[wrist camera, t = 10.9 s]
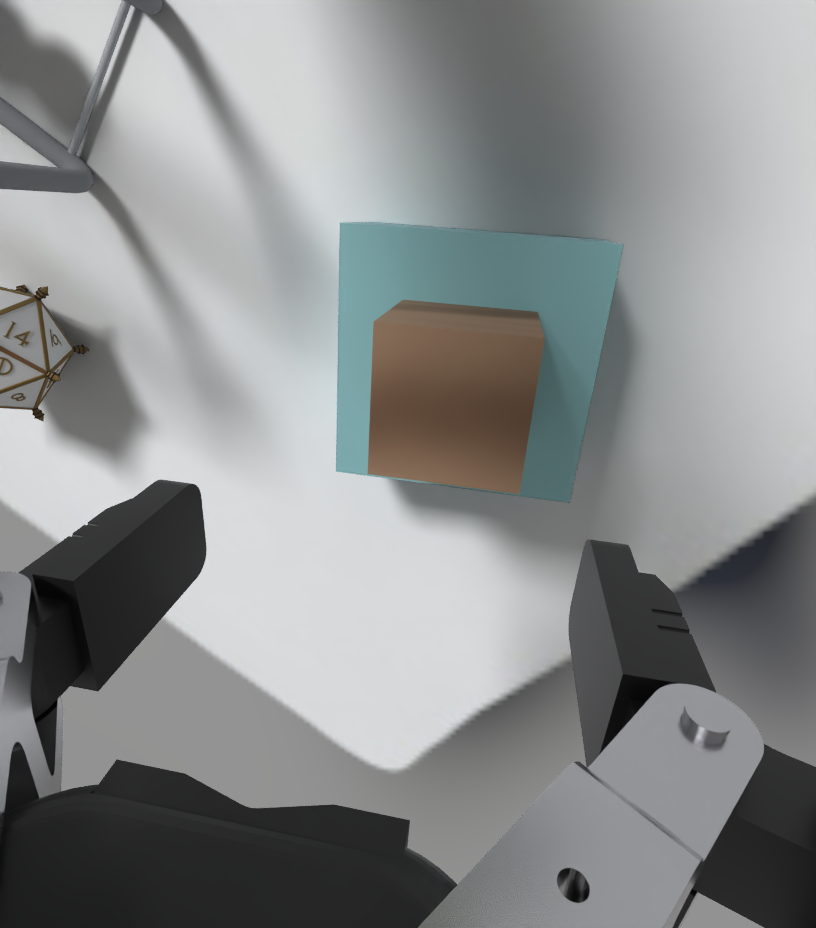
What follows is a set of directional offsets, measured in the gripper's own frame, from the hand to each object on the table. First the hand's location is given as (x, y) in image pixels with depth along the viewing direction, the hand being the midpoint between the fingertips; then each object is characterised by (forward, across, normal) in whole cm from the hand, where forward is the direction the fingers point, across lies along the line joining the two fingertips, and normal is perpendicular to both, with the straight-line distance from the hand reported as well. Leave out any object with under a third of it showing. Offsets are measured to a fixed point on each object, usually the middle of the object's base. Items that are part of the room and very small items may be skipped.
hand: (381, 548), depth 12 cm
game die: (+22, +27, +2) cm, 35 cm away
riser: (+22, 0, 0) cm, 22 cm away
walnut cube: (+16, 0, 0) cm, 16 cm away
